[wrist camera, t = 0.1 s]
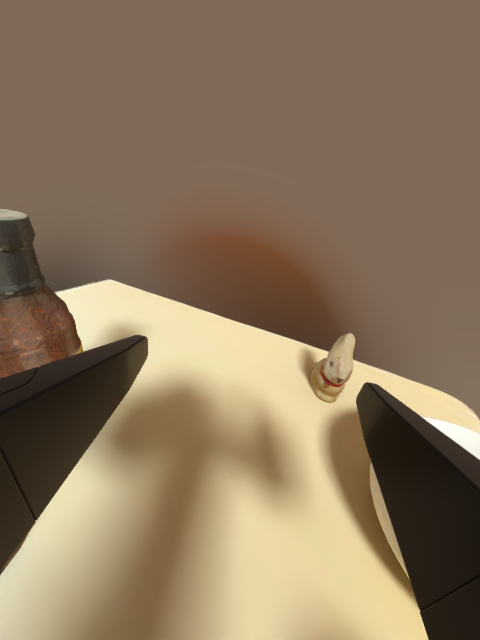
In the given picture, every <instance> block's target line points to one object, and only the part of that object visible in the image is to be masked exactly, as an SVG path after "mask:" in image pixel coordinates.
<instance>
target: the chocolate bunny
mask: <svg viewBox="0 0 480 640" xmlns="http://www.w3.org/2000/svg"><path fill="white" fill-rule="evenodd" d="M354 346H355V338H354V336H353V334H350V333H348V334H346V335H344V336H341V337H340V338H339V339H338V340H337V341H336V343H335V344H334V345H333V347H332V349H331V350H330V352H329V353H328V357H327V358H324V359H322V360H321V361H320V362H318V363H317V364H316V366H315V367H314V368H313V370H312V372H311V376H310V386H311V388H312V390H313V392H314V393H315V395H316V396H317V397H318V398H319V399H321V400H322V401H325V402H328V403H331V402H335V401H336V399H337V397H338V396H339V394H340V393H341V392H342V391H343V389H344V386H345V382H347V381H348V380H349V378H350V376H351V374H352V370H353V359H352V354H353V350H354Z"/></svg>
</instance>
